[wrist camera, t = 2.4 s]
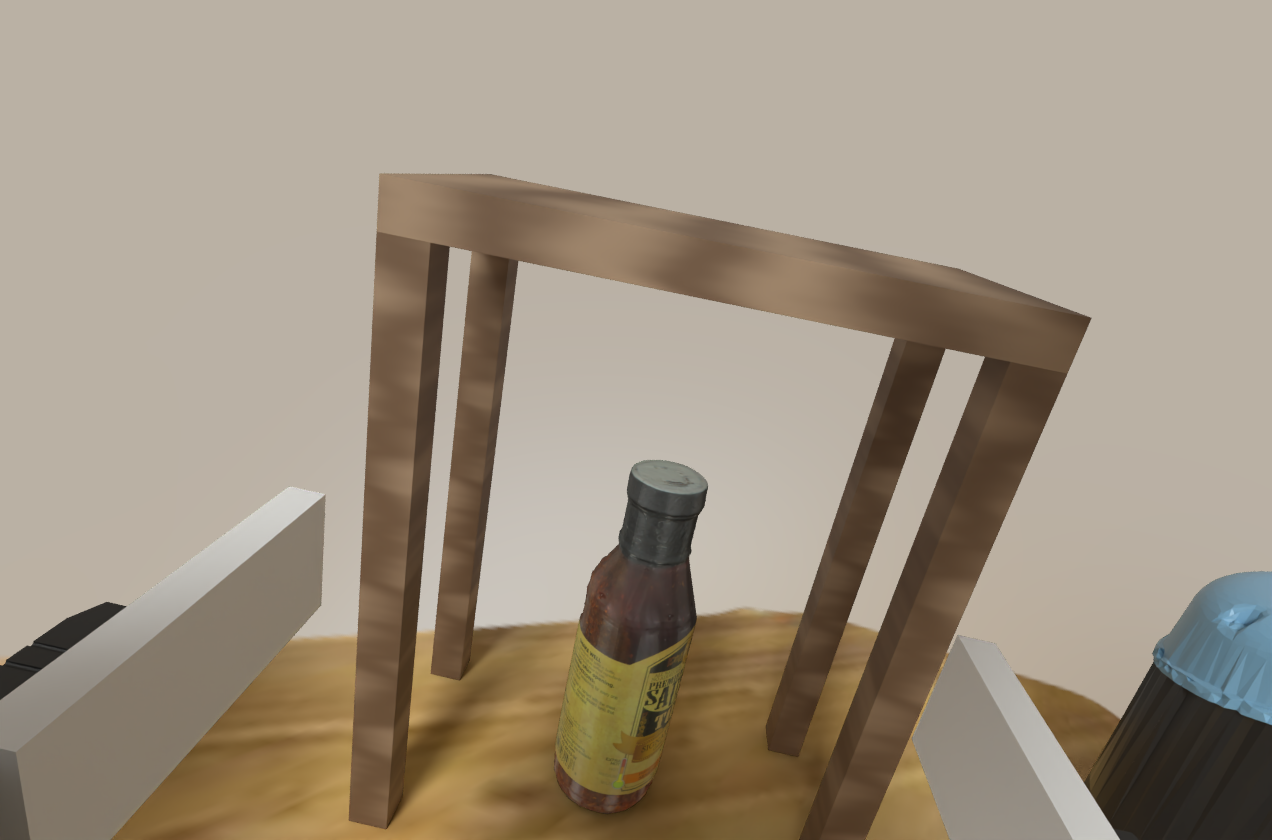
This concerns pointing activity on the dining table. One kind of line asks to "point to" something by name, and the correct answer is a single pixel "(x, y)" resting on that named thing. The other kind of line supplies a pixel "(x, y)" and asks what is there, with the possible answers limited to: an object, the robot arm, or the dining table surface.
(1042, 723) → the robot arm
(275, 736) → the dining table surface
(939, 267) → the walnut table
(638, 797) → the sauce bottle
